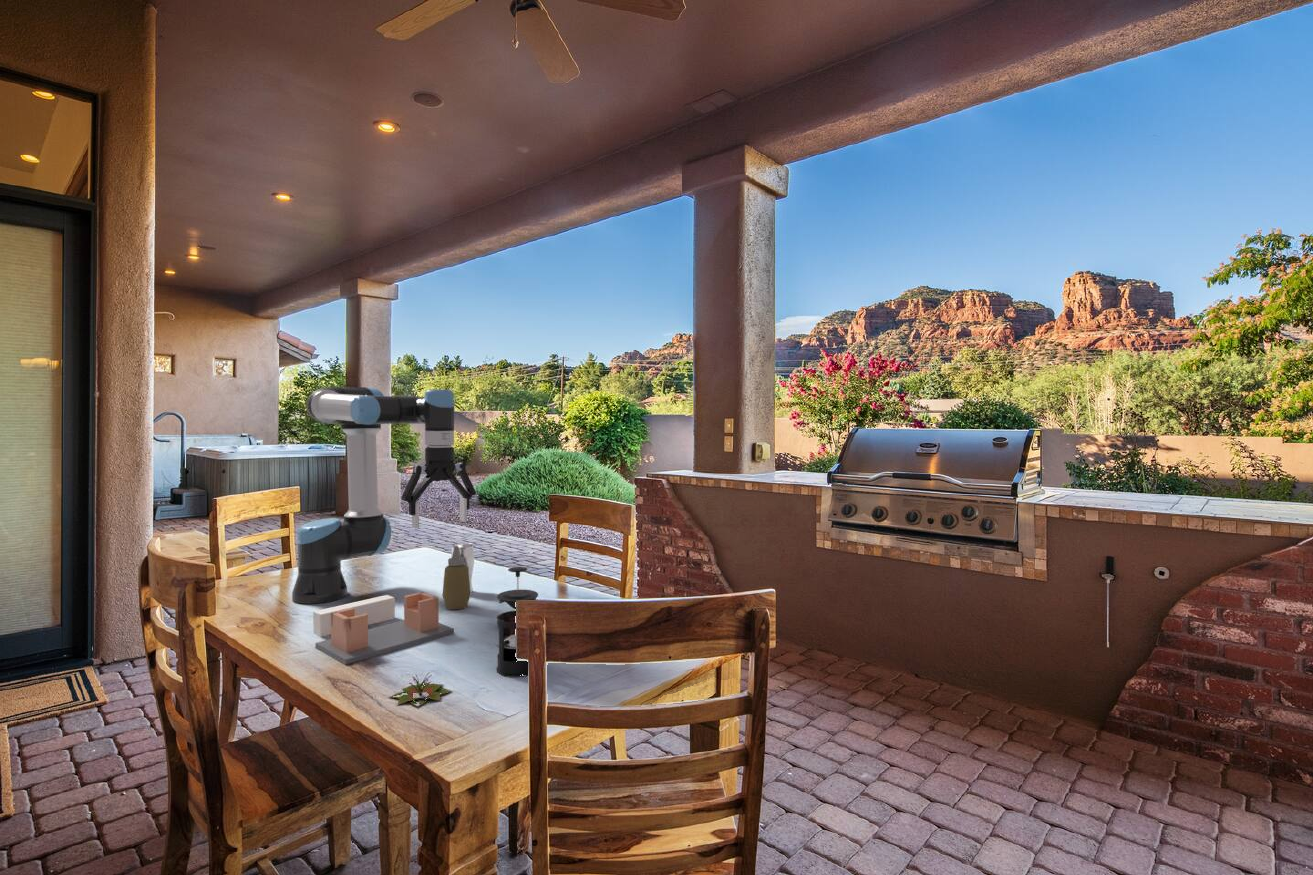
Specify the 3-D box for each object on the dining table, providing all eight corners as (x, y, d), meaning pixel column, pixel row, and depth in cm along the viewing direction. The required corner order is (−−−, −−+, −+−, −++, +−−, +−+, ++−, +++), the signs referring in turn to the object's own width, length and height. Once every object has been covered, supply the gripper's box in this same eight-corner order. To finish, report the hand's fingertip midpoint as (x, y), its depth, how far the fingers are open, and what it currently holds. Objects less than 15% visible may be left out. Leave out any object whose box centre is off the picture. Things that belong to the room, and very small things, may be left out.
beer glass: (478, 590, 210) (478, 544, 209) (465, 596, 203) (465, 548, 203) (460, 588, 212) (460, 542, 212) (446, 594, 206) (446, 546, 205)
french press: (509, 681, 141) (509, 575, 140) (485, 669, 147) (485, 568, 146) (553, 666, 149) (553, 566, 148) (528, 655, 156) (528, 559, 155)
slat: (313, 634, 169) (313, 611, 169) (387, 615, 185) (387, 594, 185) (320, 637, 167) (320, 614, 167) (394, 618, 182) (394, 597, 182)
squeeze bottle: (462, 612, 188) (462, 550, 187) (436, 610, 189) (436, 548, 189) (475, 604, 196) (475, 544, 195) (451, 602, 197) (450, 542, 196)
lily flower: (376, 701, 132) (375, 679, 132) (425, 680, 142) (425, 659, 142) (415, 716, 126) (415, 692, 125) (464, 693, 136) (463, 671, 136)
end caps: (315, 647, 159) (314, 611, 159) (421, 619, 181) (421, 587, 180) (345, 664, 149) (345, 625, 149) (454, 633, 170) (453, 599, 170)
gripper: (399, 448, 166) (400, 531, 167) (488, 445, 183) (488, 520, 184) (387, 447, 172) (388, 527, 173) (475, 444, 189) (475, 517, 190)
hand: (440, 524), depth 179 cm, fingers open, 13 cm apart
